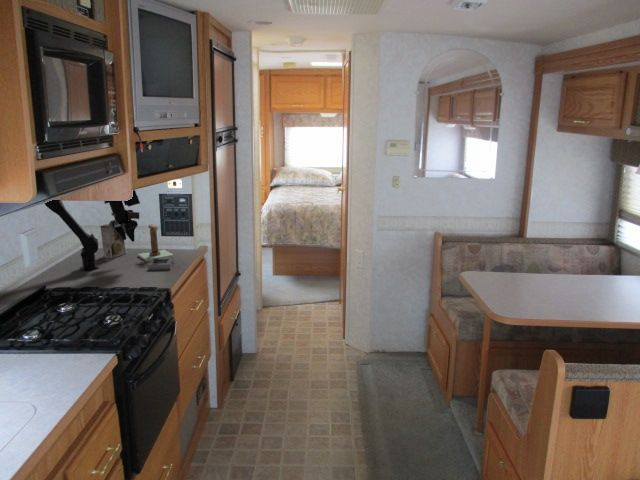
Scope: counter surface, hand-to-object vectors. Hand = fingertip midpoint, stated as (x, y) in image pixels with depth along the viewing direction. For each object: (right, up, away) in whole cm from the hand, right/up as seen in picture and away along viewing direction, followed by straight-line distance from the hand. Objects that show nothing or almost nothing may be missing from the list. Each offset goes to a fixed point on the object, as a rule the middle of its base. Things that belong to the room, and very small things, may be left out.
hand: (129, 240), depth 255 cm
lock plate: (+15, -12, 0) cm, 20 cm away
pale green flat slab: (+8, -8, +16) cm, 19 cm away
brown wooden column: (+8, -7, +15) cm, 18 cm away
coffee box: (-14, -8, +18) cm, 24 cm away
